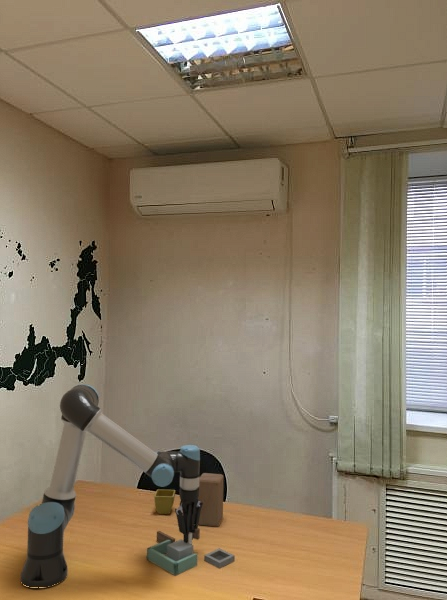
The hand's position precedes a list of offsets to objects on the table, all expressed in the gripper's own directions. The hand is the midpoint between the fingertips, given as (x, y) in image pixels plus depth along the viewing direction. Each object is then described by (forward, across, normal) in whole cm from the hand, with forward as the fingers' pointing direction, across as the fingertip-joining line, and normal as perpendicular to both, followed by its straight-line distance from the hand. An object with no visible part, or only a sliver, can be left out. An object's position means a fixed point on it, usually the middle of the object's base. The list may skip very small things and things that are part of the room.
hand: (188, 549), depth 185 cm
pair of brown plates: (+2, -5, -12) cm, 13 cm away
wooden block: (+2, -27, -16) cm, 32 cm away
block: (+2, +4, 0) cm, 5 cm away
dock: (+2, +8, 0) cm, 8 cm away
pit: (+2, -5, +12) cm, 13 cm away
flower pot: (+2, -19, -38) cm, 43 cm away
